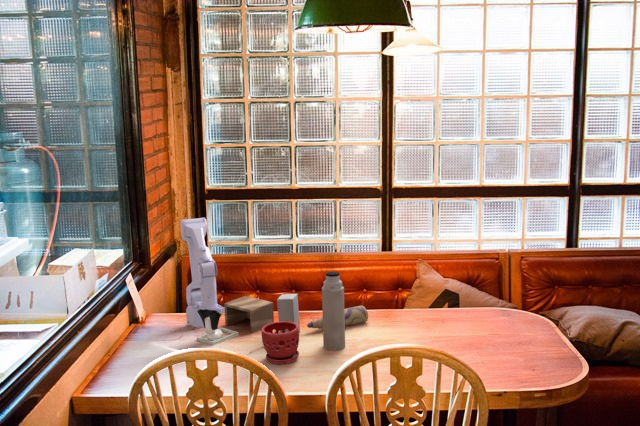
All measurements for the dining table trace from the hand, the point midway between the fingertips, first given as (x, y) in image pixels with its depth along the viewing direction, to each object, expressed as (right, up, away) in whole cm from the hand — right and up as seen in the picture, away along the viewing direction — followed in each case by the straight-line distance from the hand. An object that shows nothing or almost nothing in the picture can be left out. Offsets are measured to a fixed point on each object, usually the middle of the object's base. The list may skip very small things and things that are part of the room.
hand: (210, 328), depth 246 cm
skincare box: (+29, -4, +6) cm, 30 cm away
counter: (+13, -2, +17) cm, 21 cm away
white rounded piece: (0, -2, 0) cm, 2 cm away
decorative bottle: (+48, -2, +15) cm, 50 cm away
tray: (+2, -6, +4) cm, 7 cm away
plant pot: (+28, -8, -17) cm, 33 cm away
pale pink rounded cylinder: (+2, -3, +3) cm, 5 cm away
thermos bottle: (+46, -6, -6) cm, 47 cm away
